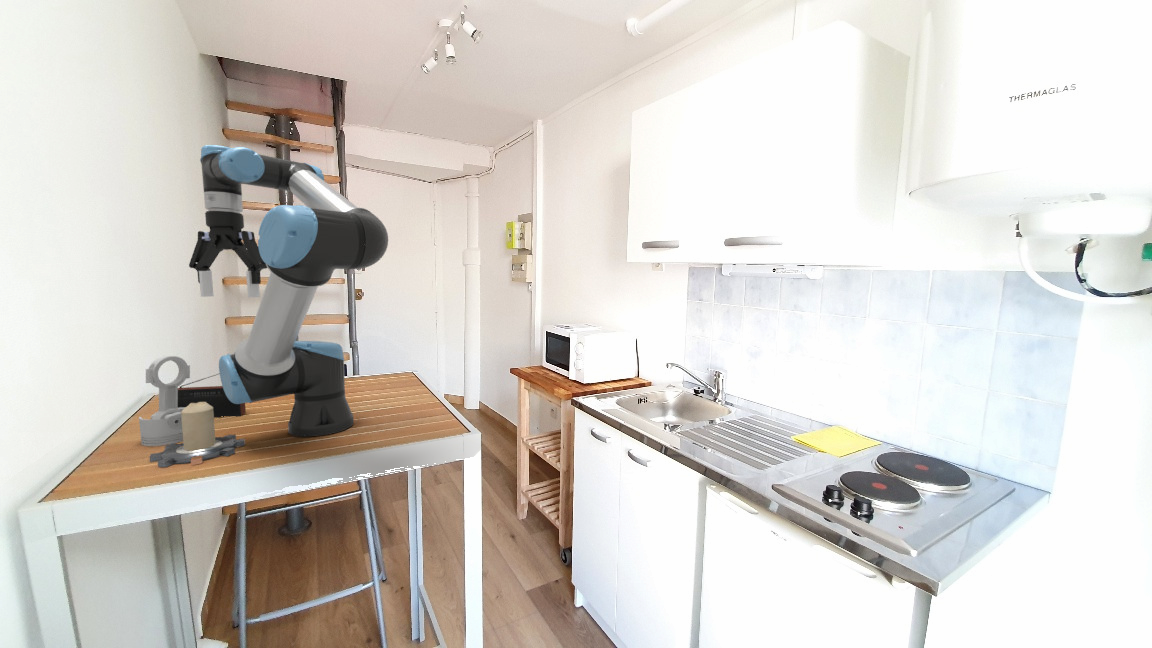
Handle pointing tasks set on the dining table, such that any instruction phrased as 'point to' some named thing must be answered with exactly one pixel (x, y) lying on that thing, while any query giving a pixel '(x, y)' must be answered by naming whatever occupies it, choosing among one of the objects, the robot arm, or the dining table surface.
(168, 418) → the engine component
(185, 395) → the radio
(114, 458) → the dining table surface
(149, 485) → the dining table surface
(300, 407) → the robot arm
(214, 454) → the sprocket
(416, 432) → the dining table surface
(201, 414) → the candle
